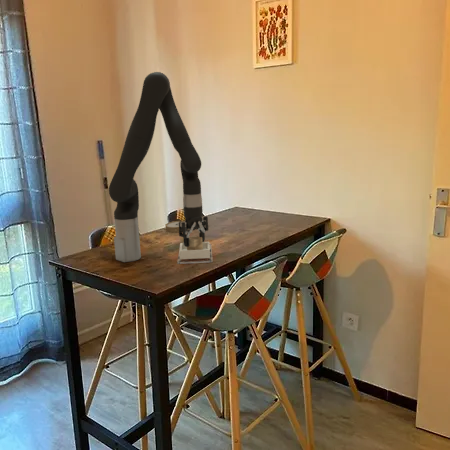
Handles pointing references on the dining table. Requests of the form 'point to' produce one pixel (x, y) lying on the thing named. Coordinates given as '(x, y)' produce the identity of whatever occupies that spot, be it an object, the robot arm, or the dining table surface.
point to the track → (199, 260)
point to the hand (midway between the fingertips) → (194, 244)
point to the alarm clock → (173, 226)
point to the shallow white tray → (194, 252)
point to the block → (195, 243)
